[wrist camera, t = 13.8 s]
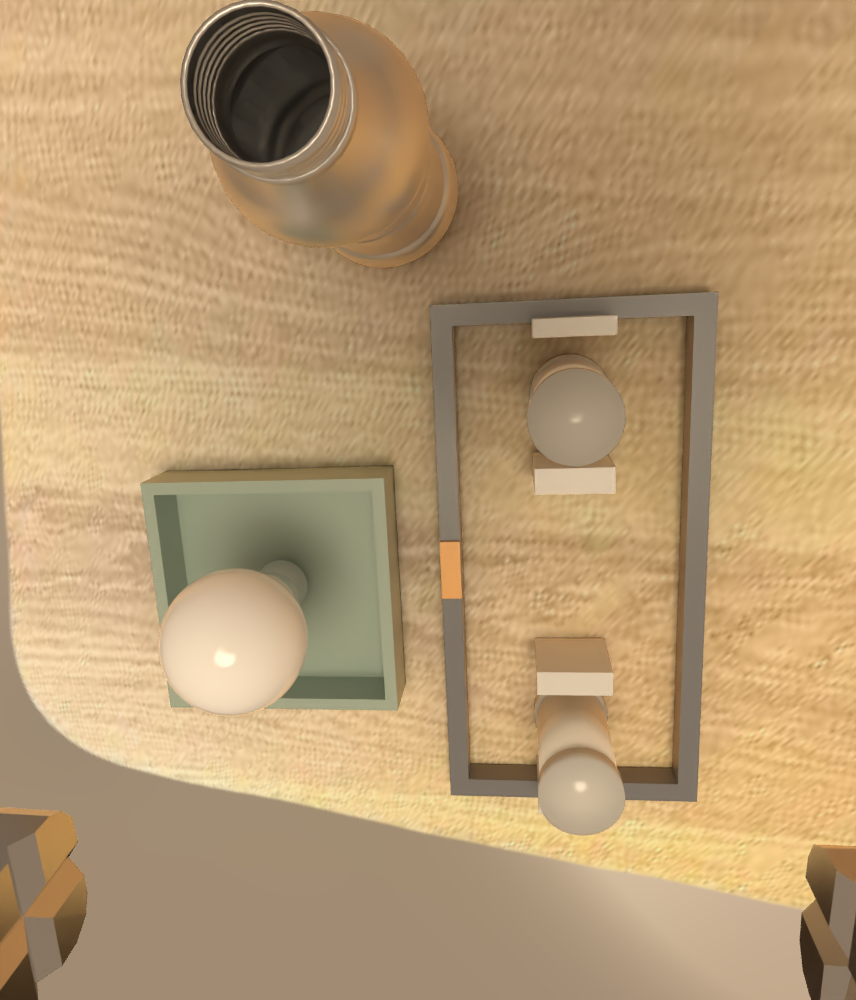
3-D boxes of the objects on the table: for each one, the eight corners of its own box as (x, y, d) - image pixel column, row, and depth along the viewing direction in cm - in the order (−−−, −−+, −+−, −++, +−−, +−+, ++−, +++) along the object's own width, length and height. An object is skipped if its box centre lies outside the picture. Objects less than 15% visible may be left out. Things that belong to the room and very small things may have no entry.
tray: (166, 471, 42) (140, 483, 39) (393, 465, 40) (383, 478, 37) (193, 680, 44) (170, 707, 42) (405, 683, 43) (397, 710, 40)
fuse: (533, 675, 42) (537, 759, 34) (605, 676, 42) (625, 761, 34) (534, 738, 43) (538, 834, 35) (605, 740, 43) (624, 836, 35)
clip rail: (433, 305, 38) (423, 305, 34) (710, 292, 36) (733, 290, 33) (453, 779, 44) (447, 824, 40) (690, 784, 43) (708, 832, 39)
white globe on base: (526, 359, 38) (521, 376, 30) (605, 349, 38) (622, 363, 30) (534, 436, 39) (531, 471, 31) (611, 427, 38) (629, 461, 31)
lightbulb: (369, 588, 41) (317, 686, 31) (285, 656, 43) (207, 773, 32) (287, 498, 41) (205, 567, 30) (205, 571, 42) (99, 662, 32)
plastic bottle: (313, 135, 37) (88, -51, 17) (457, 115, 36) (387, -103, 17) (331, 277, 38) (142, 250, 19) (469, 262, 37) (418, 218, 18)
